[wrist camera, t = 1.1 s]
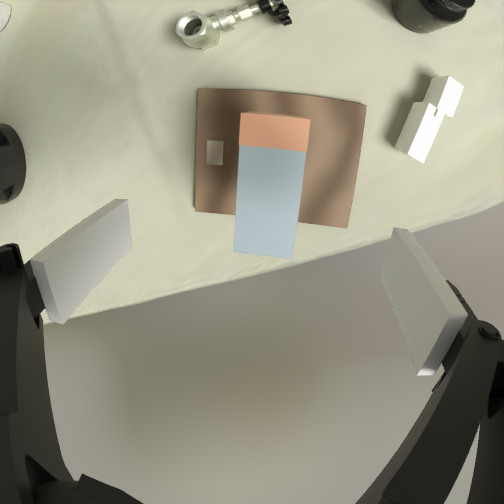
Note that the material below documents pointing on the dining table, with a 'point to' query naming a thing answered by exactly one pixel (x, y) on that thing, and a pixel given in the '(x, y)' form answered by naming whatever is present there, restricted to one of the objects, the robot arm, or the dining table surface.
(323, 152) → the board
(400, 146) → the white stepped block
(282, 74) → the dining table surface
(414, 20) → the supplement bottle
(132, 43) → the dining table surface
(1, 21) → the can
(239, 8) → the valve
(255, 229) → the blue-orange block
